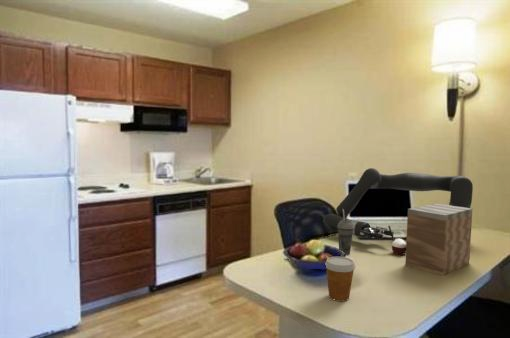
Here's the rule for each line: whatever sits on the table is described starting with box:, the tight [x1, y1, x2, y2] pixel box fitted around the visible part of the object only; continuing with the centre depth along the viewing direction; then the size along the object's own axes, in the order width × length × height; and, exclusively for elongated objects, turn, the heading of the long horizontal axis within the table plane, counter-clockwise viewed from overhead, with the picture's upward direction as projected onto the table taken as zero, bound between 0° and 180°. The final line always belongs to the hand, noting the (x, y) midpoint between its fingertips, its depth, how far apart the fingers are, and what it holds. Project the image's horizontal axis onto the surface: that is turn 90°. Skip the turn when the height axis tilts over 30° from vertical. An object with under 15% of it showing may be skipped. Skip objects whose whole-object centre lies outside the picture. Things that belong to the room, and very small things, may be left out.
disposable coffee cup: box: [325, 256, 356, 302], centre depth 119 cm, size 10×10×12 cm
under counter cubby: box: [405, 202, 473, 276], centre depth 151 cm, size 23×15×23 cm, turn 128°
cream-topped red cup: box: [387, 225, 406, 256], centre depth 165 cm, size 10×6×12 cm, turn 39°
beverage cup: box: [337, 209, 354, 256], centre depth 164 cm, size 7×7×20 cm
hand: (387, 235), depth 170 cm, fingers open, 8 cm apart
